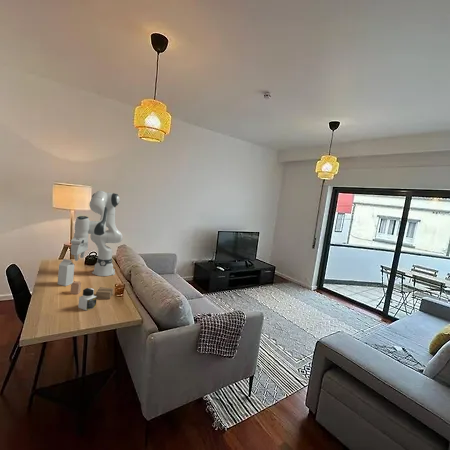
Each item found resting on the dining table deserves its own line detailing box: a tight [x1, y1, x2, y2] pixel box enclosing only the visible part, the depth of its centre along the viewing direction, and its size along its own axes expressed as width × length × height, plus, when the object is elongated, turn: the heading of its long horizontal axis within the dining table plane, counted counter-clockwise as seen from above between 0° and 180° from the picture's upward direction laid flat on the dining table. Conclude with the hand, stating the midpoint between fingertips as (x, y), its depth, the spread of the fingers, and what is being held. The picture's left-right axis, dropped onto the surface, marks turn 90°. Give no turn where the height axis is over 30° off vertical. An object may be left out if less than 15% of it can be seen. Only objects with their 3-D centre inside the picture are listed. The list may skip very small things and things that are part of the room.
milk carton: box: [57, 258, 75, 287], centre depth 194 cm, size 7×7×19 cm
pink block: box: [70, 280, 82, 295], centre depth 181 cm, size 5×5×8 cm
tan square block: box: [95, 286, 114, 300], centre depth 182 cm, size 9×9×5 cm
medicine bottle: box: [77, 287, 97, 311], centre depth 162 cm, size 7×7×12 cm
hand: (79, 259), depth 180 cm, fingers open, 8 cm apart
